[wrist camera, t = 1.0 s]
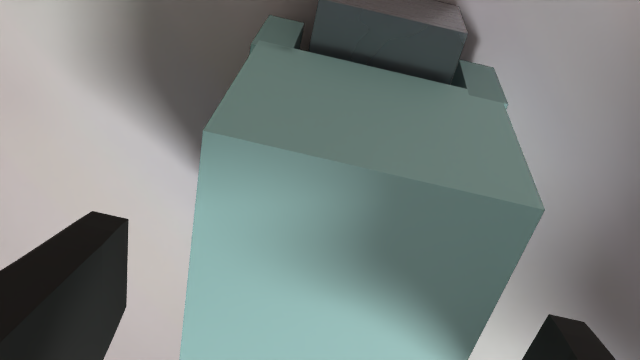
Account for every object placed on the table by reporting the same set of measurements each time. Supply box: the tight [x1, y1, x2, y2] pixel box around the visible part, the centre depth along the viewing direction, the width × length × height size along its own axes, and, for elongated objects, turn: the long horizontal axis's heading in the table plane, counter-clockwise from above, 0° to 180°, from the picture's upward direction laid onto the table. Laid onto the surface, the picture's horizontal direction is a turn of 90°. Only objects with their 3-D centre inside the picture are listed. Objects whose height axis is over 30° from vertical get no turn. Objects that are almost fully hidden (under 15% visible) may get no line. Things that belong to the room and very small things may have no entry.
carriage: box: [179, 15, 545, 360], centre depth 12 cm, size 5×6×6 cm
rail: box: [309, 0, 468, 85], centre depth 17 cm, size 3×19×2 cm, turn 168°
